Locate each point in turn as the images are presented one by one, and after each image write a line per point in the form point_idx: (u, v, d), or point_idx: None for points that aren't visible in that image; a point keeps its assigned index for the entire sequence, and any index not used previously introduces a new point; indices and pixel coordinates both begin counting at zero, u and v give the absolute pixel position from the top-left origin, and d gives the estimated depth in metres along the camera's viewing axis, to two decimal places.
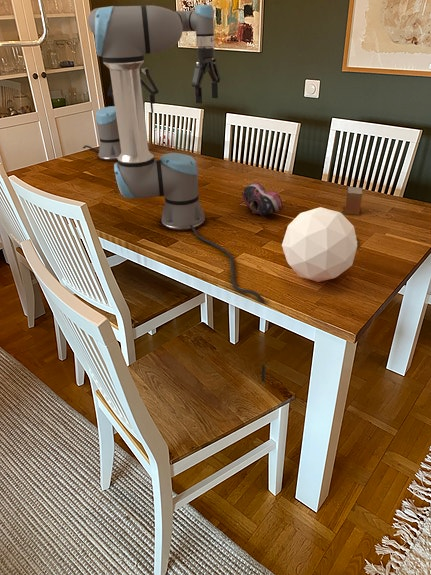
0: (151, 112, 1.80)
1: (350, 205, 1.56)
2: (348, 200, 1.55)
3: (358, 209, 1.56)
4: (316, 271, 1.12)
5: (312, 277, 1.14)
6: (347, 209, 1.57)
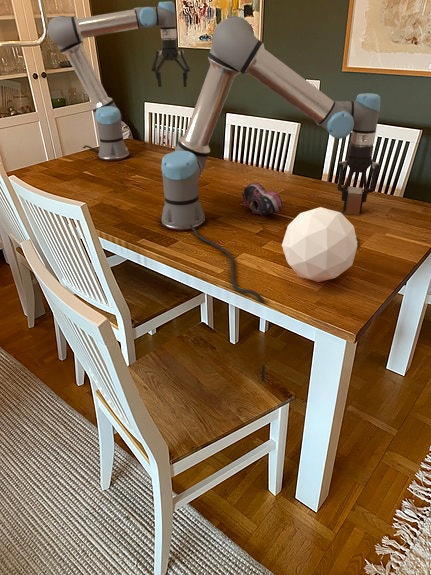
0: None
1: (350, 205, 1.56)
2: (348, 200, 1.55)
3: (358, 209, 1.56)
4: (316, 271, 1.12)
5: (312, 277, 1.14)
6: (347, 209, 1.57)
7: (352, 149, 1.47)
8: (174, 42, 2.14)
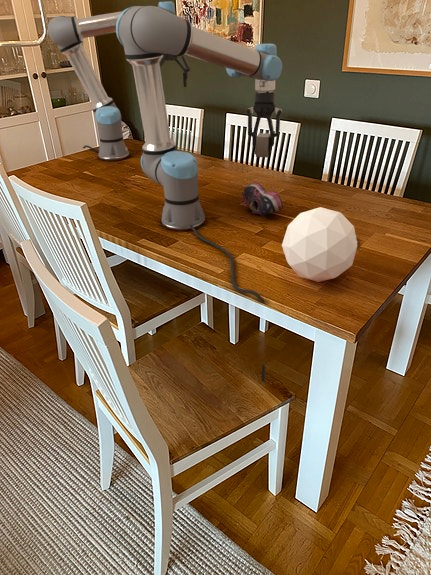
0: None
1: (259, 148, 1.74)
2: (257, 144, 1.73)
3: (266, 152, 1.74)
4: (316, 271, 1.12)
5: (312, 277, 1.14)
6: (257, 152, 1.75)
7: (255, 95, 1.64)
8: None
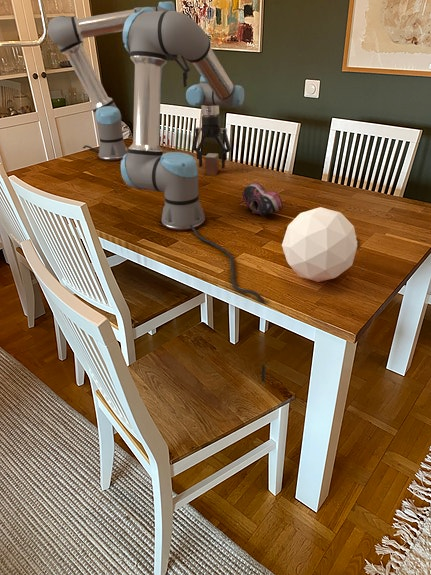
0: None
1: (208, 167, 1.98)
2: (206, 163, 1.97)
3: (214, 170, 1.98)
4: (316, 271, 1.12)
5: (312, 277, 1.14)
6: (206, 170, 1.99)
7: (202, 119, 1.87)
8: None
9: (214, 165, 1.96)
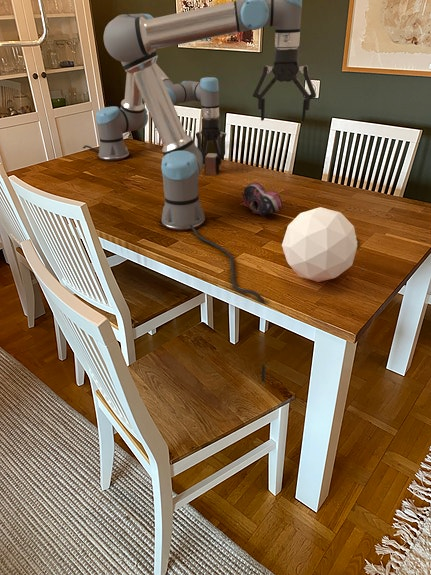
0: None
1: (208, 167, 1.98)
2: (206, 163, 1.97)
3: (214, 170, 1.98)
4: (316, 271, 1.12)
5: (312, 277, 1.14)
6: (206, 170, 1.99)
7: (276, 53, 1.36)
8: (217, 122, 1.87)
9: (214, 165, 1.96)
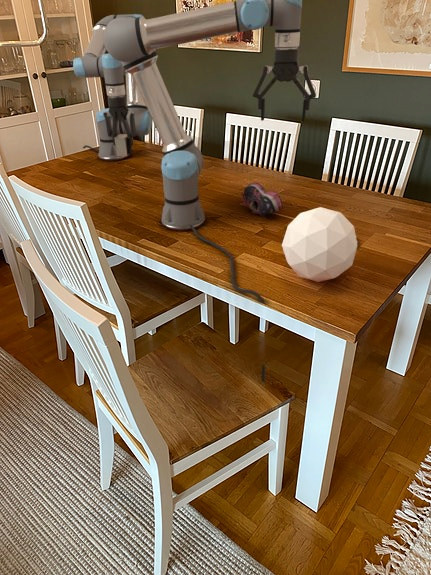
0: None
1: (119, 148, 1.91)
2: (116, 144, 1.90)
3: (125, 151, 1.91)
4: (316, 271, 1.12)
5: (312, 277, 1.14)
6: (117, 152, 1.92)
7: (276, 53, 1.36)
8: (122, 100, 1.80)
9: (125, 146, 1.89)
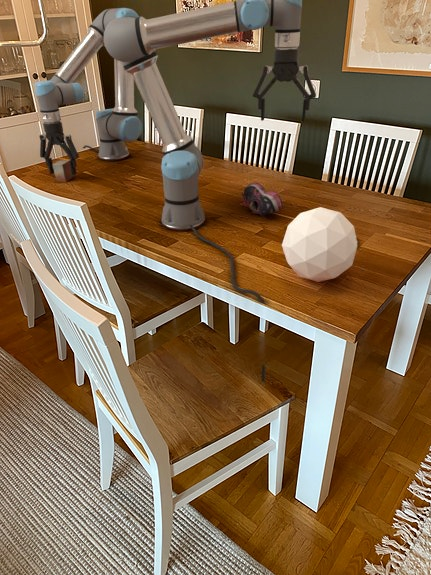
0: None
1: (57, 174, 1.94)
2: (54, 170, 1.94)
3: (63, 177, 1.94)
4: (316, 271, 1.12)
5: (312, 277, 1.14)
6: (56, 178, 1.95)
7: (276, 53, 1.36)
8: (57, 126, 1.84)
9: (62, 172, 1.93)
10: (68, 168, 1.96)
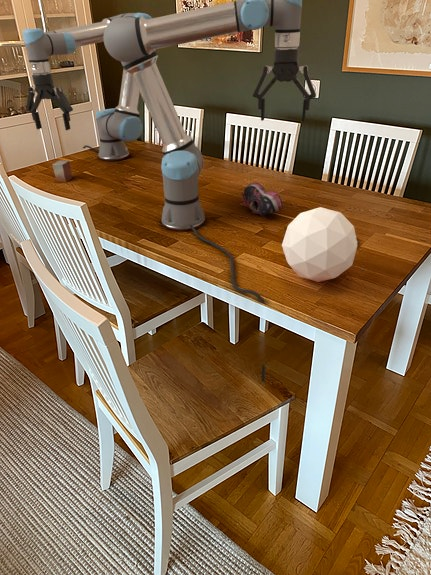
0: None
1: (57, 174, 1.94)
2: (54, 170, 1.94)
3: (63, 177, 1.94)
4: (316, 271, 1.12)
5: (312, 277, 1.14)
6: (56, 178, 1.95)
7: (276, 53, 1.36)
8: (47, 78, 1.74)
9: (62, 172, 1.93)
10: (68, 168, 1.96)
